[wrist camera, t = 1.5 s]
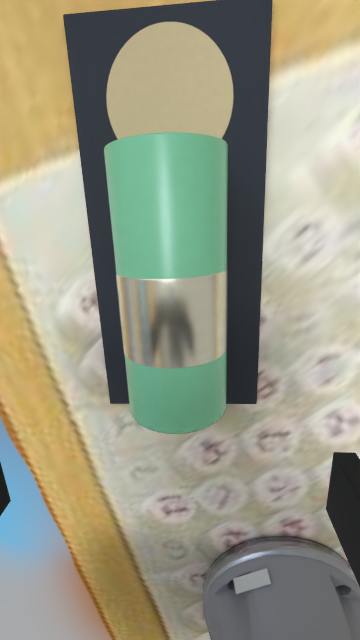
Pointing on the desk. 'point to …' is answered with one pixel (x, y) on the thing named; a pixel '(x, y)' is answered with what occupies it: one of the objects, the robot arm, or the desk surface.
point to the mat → (178, 116)
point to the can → (171, 274)
